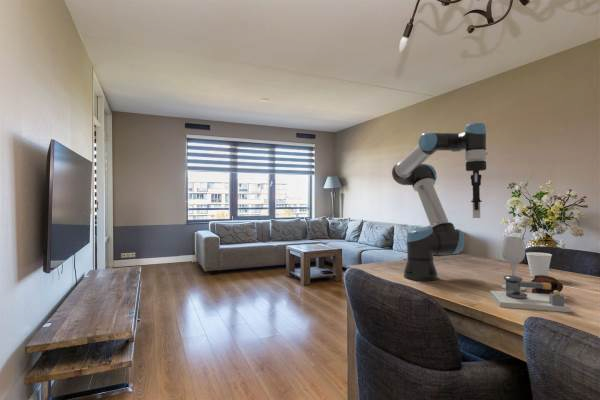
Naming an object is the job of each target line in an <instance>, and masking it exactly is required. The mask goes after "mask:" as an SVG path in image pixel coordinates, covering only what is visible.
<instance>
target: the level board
mask: <svg viewBox="0 0 600 400" xmlns="http://www.w3.org/2000/svg"><path fill="white" fill-rule="evenodd" d="M525 293H526V294H527V298H525V299H518V298H512V297H508V296H506V290H505V291H504V290H490V292H489V294H490V296H491V297H492V298H493V300H494V301H495V302H496V303H497V305H498V306H499V307H500V308H501V307H502V308H511V309H512V308H513V309H524V310H525V309H526V310H534V311H535V310H537V311H539V310H540V311H549V312H550V311H551V312H561V313H562V312H563V313H571V306H569V305H568V304H566V303H565V296H564V295H563V294H561V292H559V291H558V290H555V291H553V294H552V293H550V294H538V293H532V292H525Z"/></svg>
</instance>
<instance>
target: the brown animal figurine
mask: <svg viewBox="0 0 600 400" xmlns="http://www.w3.org/2000/svg"><path fill="white" fill-rule="evenodd" d="M534 277H535V278H533V279H532V280H531V281H530V282H538V283H541V282H543V283H550V284H551V289H542V288H531V293H538V294H553V291H555V290H558V291H559V292H560V293H561V291H563V289H564V285H563V283H562V282H560V281H558V279H556V278H555V277H553V276H550V275H548V276H545V275H536V276H534Z"/></svg>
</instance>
